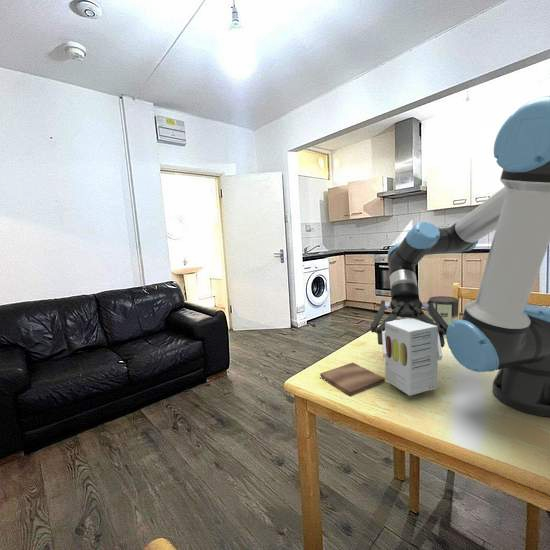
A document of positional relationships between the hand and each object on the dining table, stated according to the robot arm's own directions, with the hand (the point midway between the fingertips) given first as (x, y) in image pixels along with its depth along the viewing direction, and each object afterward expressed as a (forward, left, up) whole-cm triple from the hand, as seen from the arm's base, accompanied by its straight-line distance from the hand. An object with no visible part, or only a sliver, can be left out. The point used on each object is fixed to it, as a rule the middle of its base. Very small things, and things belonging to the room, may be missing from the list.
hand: (411, 357), depth 77 cm
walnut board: (+15, +7, -10) cm, 19 cm away
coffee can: (+23, -49, -10) cm, 55 cm away
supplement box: (+2, -2, -9) cm, 9 cm away
